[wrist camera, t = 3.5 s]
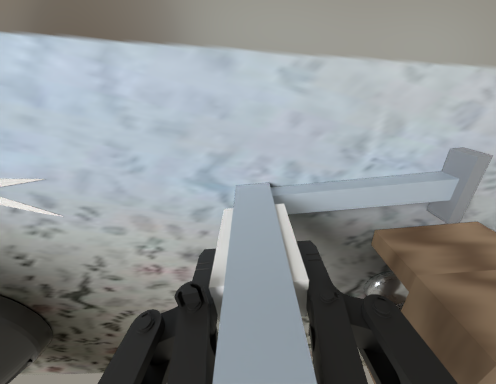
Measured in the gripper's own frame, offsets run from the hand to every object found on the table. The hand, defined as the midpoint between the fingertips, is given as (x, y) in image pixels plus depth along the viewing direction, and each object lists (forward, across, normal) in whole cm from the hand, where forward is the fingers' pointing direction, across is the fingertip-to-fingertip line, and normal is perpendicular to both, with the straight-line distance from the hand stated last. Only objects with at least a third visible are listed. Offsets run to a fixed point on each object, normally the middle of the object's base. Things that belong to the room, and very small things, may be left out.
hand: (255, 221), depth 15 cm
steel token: (+4, +15, -14) cm, 21 cm away
